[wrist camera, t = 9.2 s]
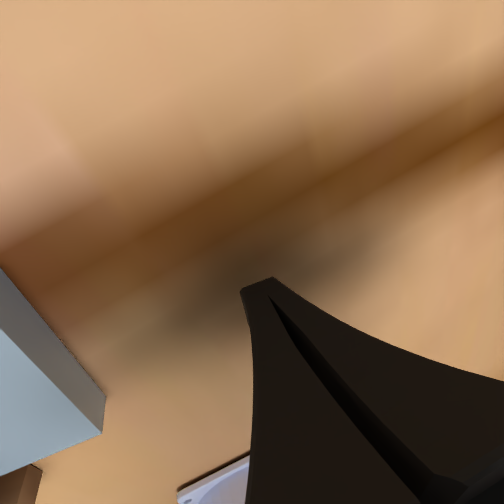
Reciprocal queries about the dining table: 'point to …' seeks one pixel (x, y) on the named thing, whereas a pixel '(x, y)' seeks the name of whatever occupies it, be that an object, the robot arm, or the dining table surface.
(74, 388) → the lid
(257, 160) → the dining table surface
